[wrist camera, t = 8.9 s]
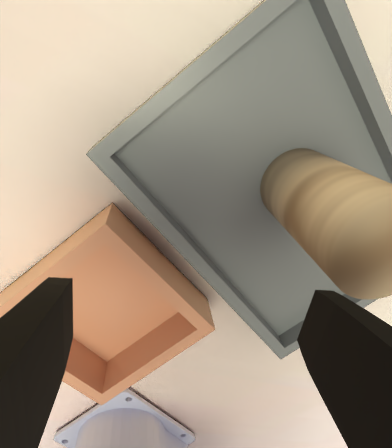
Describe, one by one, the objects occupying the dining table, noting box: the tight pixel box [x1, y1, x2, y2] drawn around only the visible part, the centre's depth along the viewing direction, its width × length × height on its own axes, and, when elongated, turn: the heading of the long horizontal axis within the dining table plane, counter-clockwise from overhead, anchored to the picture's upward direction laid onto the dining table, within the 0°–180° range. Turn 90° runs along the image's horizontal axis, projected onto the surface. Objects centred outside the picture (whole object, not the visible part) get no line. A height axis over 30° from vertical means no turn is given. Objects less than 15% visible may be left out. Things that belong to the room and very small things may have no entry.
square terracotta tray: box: [0, 203, 215, 405], centre depth 20 cm, size 10×10×3 cm
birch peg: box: [260, 148, 392, 300], centre depth 15 cm, size 4×4×8 cm
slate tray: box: [86, 0, 392, 359], centre depth 19 cm, size 20×14×2 cm
